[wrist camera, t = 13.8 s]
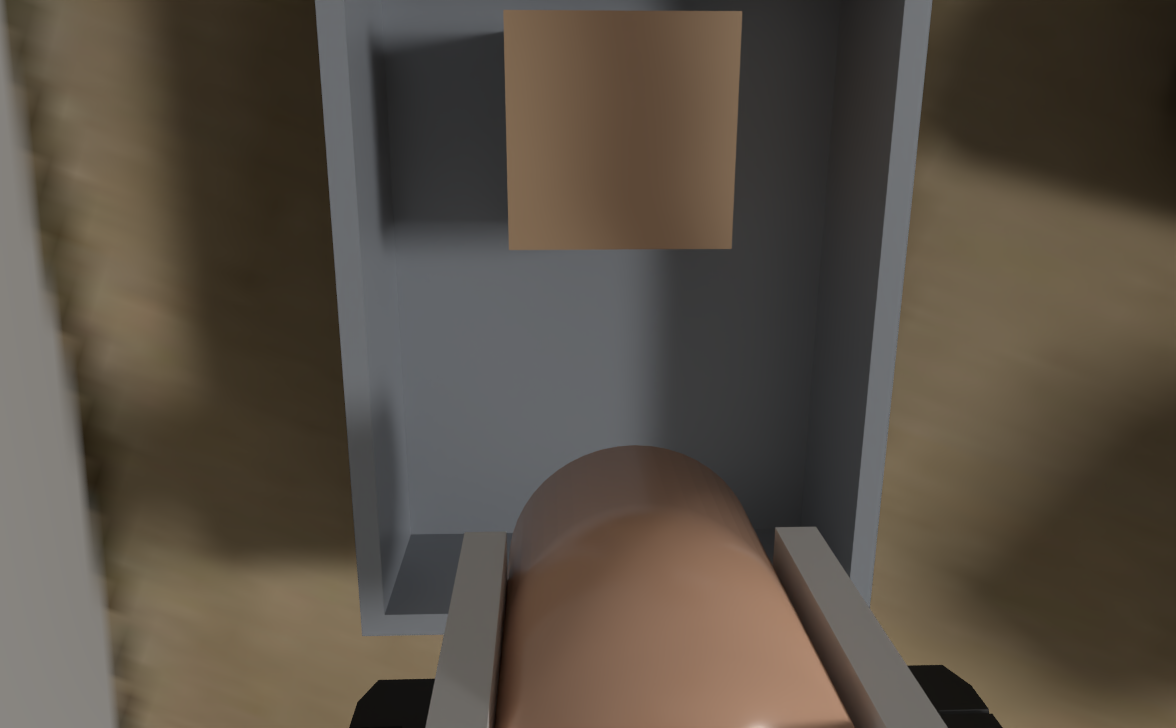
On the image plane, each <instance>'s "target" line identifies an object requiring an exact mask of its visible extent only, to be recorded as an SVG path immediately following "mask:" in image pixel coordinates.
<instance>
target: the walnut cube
mask: <svg viewBox="0 0 1176 728" xmlns="http://www.w3.org/2000/svg"><path fill="white" fill-rule="evenodd" d="M503 20H504V62H505V104H506V147H507V189H508V232H509V250H618V249H732V228H733V206H734V184H735V162H736V140H737V118H738V96H739V74H740V52H741V30H742V11H617V10H503Z"/></svg>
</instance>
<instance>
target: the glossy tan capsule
mask: <svg viewBox="0 0 1176 728" xmlns="http://www.w3.org/2000/svg"><path fill="white" fill-rule="evenodd" d="M507 578H508V583H507V594H506V605H505V616H504V628H503V639H502V650H501V661H500V673H499V684H498V695H497V706H496V718H495V728H855V726H854V724H853V722H852V720H851V718H850V716H849V714H848V712H847V710H846V709H845V707H844V705H843V703H842V701H841V699H840V697H839V695H838V693H837V691H836V689H835V687H834V685H833V683H832V681H831V679H830V677H829V675H828V673H827V671H826V669H825V667H824V665H823V663H822V661H821V659H820V658H819V656H818V654H817V652H816V650H815V648H814V646H813V644H812V642H811V640H810V638H809V636H808V634H807V632H806V630H805V628H804V626H803V624H802V622H801V620H800V618H799V616H798V614H797V612H796V610H795V608H794V607H793V605H792V603H791V601H790V599H789V597H788V595H787V593H786V591H785V589H784V587H783V585H782V583H781V581H780V579H779V577H778V575H777V573H776V571H775V569H774V567H773V565H772V563H771V561H770V559H769V557H768V556H767V554H766V552H765V550H764V548H763V546H762V544H761V542H760V540H759V538H758V536H757V534H756V532H755V530H754V528H753V526H752V524H751V522H750V520H749V518H748V516H747V514H746V512H745V510H744V508H743V506H742V505H741V503H740V501H739V500H738V498H737V497H736V495H735V494H734V492H733V491H732V489H731V488H730V487H729V486H728V485H727V484H726V483H725V482H724V480H723V479H722V478H721V477H719V476H718V475H717V474H716V473H715V472H713V471H712V470H711V469H710V468H708V467H707V466H705V465H703V464H702V463H700V462H699V461H697V460H695V459H693V458H691V457H688V456H686V455H684V454H682V453H679V452H675V451H672V450H669V449H665V448H659V447H653V446H640V445H630V446H617V447H612V448H607V449H602V450H599V451H596V452H593V453H590V454H587V455H584V456H582V457H580V458H578V459H576V460H574V461H572V462H570V463H568V464H567V465H565V466H564V467H562V468H560V469H559V470H557V471H556V472H555V473H554V474H552V475H551V476H550V477H549V478H548V479H546V480H545V481H544V482H543V483H542V484H541V485H540V487H539V488H538V489H537V490H536V491H535V492H534V493H533V495H532V496H531V497H530V499H529V500H528V502H527V503H526V505H525V506H524V508H523V510H522V512H521V514H520V516H519V518H518V520H517V523H516V526H515V528H514V531H513V535H512V540H511V545H510V552H509V563H508V573H507Z"/></svg>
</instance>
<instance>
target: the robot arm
mask: <svg viewBox="0 0 1176 728" xmlns="http://www.w3.org/2000/svg"><path fill="white" fill-rule="evenodd" d="M773 567H774V569H775V571H776V573H777V575H778V577H779V579H780V581H781V583H782V585H783V587H784V589H785V591H786V593H787V595H788V597H789V599H790V601H791V603H792V605H793V607H794V608H795V610H796V612H797V614H798V616H799V618H800V620H801V622H802V624H803V626H804V628H805V630H806V632H807V634H808V636H809V638H810V640H811V642H812V644H813V646H814V648H815V650H816V652H817V654H818V656H819V658H820V659H821V661H822V663H823V665H824V667H825V669H826V671H827V673H828V675H829V677H830V679H831V681H832V683H833V685H834V687H835V689H836V691H837V693H838V695H839V697H840V699H841V701H842V703H843V705H844V707H845V709H846V710H847V712H848V714H849V716H850V718H851V720H852V722H853V724H854V726H855V728H1002V726H1001V725H1000V724H999V722H998V721H997V720H996V718H995V717H994V716H993V714H989V709H988V708H987V706H986V705H985V703H984V702H983V701H982V699H981V698H980V697H979V695H978V694H977V693H976V691H975V690H974V689H973V687H972V686H971V685H970V684H968V683H967V682H966V681H964V680H963V679H961V678H960V677H959V676H957V675H956V674H954V673H953V672H952V671H950V670H949V669H947V668H946V667H945V666H943V665H918V666H907V665H906V663H905V662H904V660H903V659H902V657H901V656H900V654H899V653H898V651H897V650H896V648H895V647H894V645H893V643H892V642H891V640H890V639H889V637H888V636H887V634H886V633H885V631H884V630H883V628H882V627H881V625H880V624H879V622H878V621H877V619H876V618H875V616H874V614H873V613H872V611H871V610H870V608H869V607H868V605H867V604H866V602H865V601H864V599H863V598H862V596H861V595H860V593H859V592H858V590H857V589H856V587H855V585H854V584H853V582H852V581H851V579H850V578H849V576H848V575H847V573H846V572H845V570H844V569H843V567H842V566H841V564H840V563H839V561H838V560H837V558H836V556H835V555H834V553H833V552H832V550H831V549H830V547H829V546H828V544H827V543H826V541H825V540H824V538H823V537H822V535H821V534H820V532H819V531H818V529H817V527H775V540H774V555H773ZM507 583H508V578H507V533H506V531H505V532H465V533H464V538H463V543H462V548H461V553H460V558H459V563H458V568H457V572H456V577H455V582H454V587H453V592H452V597H451V602H450V607H449V612H448V617H447V622H446V627H445V632H444V637H443V642H442V647H441V652H440V657H439V662H438V667H437V672H436V677H435V679H403V680H378V681H377V682H376V683H375V684H374V685H373V687H372V688H371V689H370V690H369V691H368V692H367V693H366V694H365V695H364V696H363V697H362V698H361V699H360V700H359V701H358V702H357V705H356V709H355V712H354V715H353V718H352V721H351V724H350V727H349V728H495V718H496V706H497V695H498V684H499V673H500V661H501V650H502V639H503V628H504V616H505V605H506V594H507Z"/></svg>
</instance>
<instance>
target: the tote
mask: <svg viewBox="0 0 1176 728" xmlns="http://www.w3.org/2000/svg"><path fill="white" fill-rule="evenodd" d="M315 8H316V21H317V34H318V48H319V61H320V75H321V88H322V102H323V115H324V128H325V142H326V155H327V169H328V182H329V196H330V209H331V222H332V236H333V249H334V263H335V276H336V290H337V303H338V316H339V330H340V343H341V357H342V370H343V383H344V397H345V410H346V424H347V437H348V451H349V464H350V477H351V491H352V504H353V518H354V531H355V545H356V558H357V571H358V585H359V598H360V612H361V625H362V636H390V635H442V634H444V632H445V627H446V622H447V617H448V612H449V607H450V602H451V597H452V592H453V587H454V582H455V577H456V572H457V568H458V563H459V558H460V553H461V548H462V543H463V538H464V533H465V532H505V531H506V533H507V573H508V563H509V552H510V545H511V540H512V535H513V531H514V528H515V526H516V523H517V520H518V518H519V516H520V514H521V512H522V510H523V508H524V506H525V505H526V503H527V502H528V500H529V499H530V497H531V496H532V495H533V493H534V492H535V491H536V490H537V489H538V488H539V487H540V485H541V484H542V483H543V482H544V481H545V480H546V479H548V478H549V477H550V476H551V475H552V474H554V473H555V472H556V471H557V470H559V469H560V468H562V467H564V466H565V465H567V464H568V463H570V462H572V461H574V460H576V459H578V458H580V457H582V456H584V455H587V454H590V453H593V452H596V451H599V450H602V449H607V448H612V447H617V446H630V445H640V446H653V447H659V448H665V449H669V450H672V451H675V452H679V453H682V454H684V455H686V456H688V457H691V458H693V459H695V460H697V461H699V462H700V463H702V464H703V465H705V466H707V467H708V468H710V469H711V470H712V471H713V472H715V473H716V474H717V475H718V476H719V477H721V478H722V479H723V480H724V482H725V483H726V484H727V485H728V486H729V487H730V488H731V489H732V491H733V492H734V494H735V495H736V497H737V498H738V500H739V501H740V503H741V505H742V506H743V508H744V510H745V512H746V514H747V516H748V518H749V520H750V522H751V524H752V526H753V528H754V530H755V532H756V534H757V536H758V538H759V540H760V542H761V544H762V546H763V548H764V550H765V552H766V554H767V556H768V557H769V559H770V561H771V563H772V565H773V555H774V540H775V527H817V529H818V531H819V532H820V534H821V535H822V537H823V538H824V540H825V541H826V543H827V544H828V546H829V547H830V549H831V550H832V552H833V553H834V555H835V556H836V558H837V560H838V561H839V563H840V564H841V566H842V567H843V569H844V570H845V572H846V573H847V575H848V576H849V578H850V579H851V581H852V582H853V584H854V585H855V587H856V589H857V590H858V592H859V593H860V595H861V596H862V598H863V599H864V601H865V602H866V604H867V605H868V607H869V608H870V601H871V591H872V581H873V571H874V562H875V552H876V542H877V533H878V523H879V513H880V504H881V494H882V484H883V474H884V465H885V455H886V445H887V436H888V426H889V416H890V407H891V397H892V387H893V377H894V368H895V358H896V348H897V339H898V329H899V319H900V309H901V300H902V290H903V280H904V271H905V261H906V251H907V242H908V232H909V222H910V212H911V203H912V193H913V183H914V174H915V164H916V154H917V145H918V135H919V125H920V115H921V106H922V96H923V86H924V77H925V67H926V57H927V48H928V38H929V28H930V18H931V9H932V0H315ZM503 10H617V11H742V30H741V52H740V74H739V96H738V118H737V140H736V162H735V184H734V206H733V228H732V249H618V250H509V232H508V189H507V147H506V104H505V62H504V20H503Z"/></svg>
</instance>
